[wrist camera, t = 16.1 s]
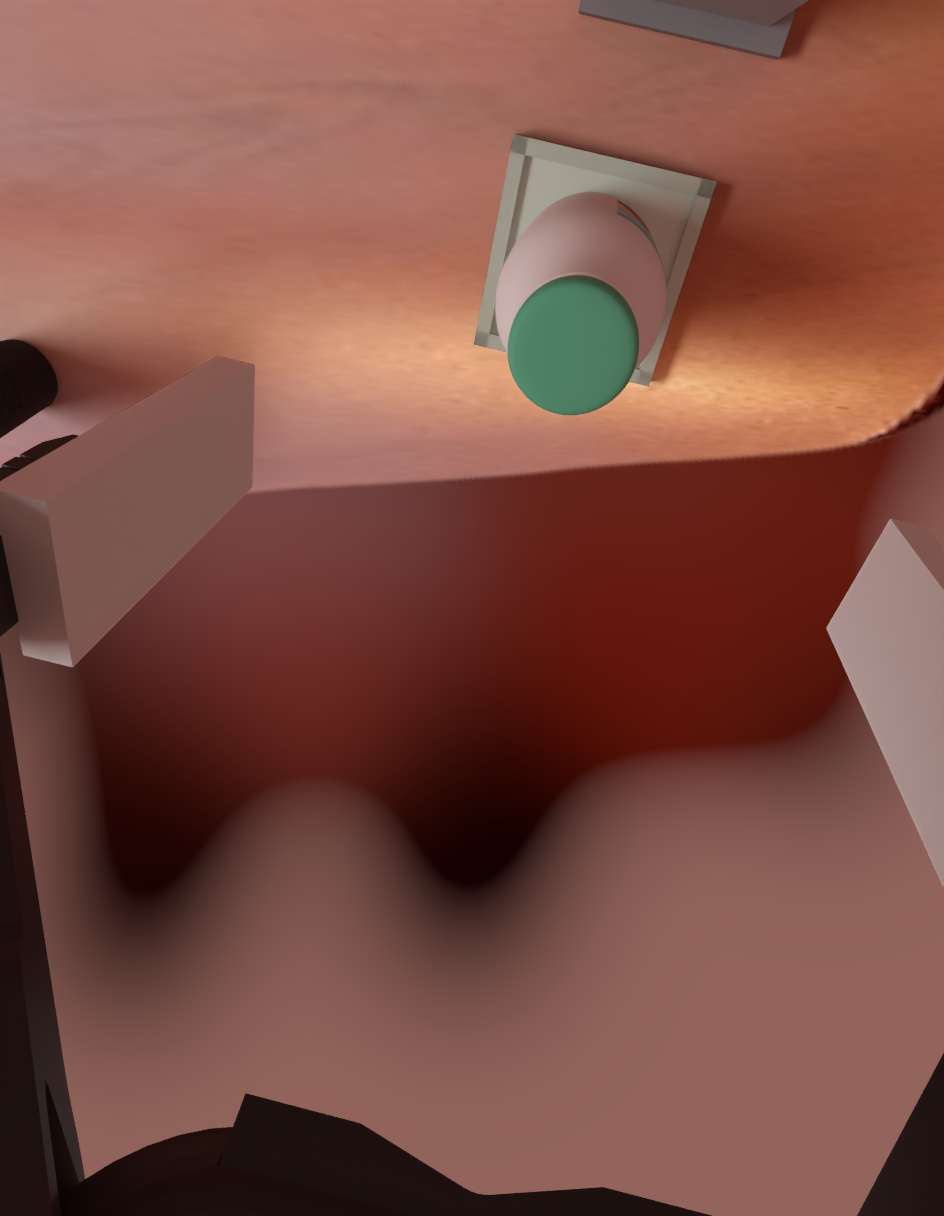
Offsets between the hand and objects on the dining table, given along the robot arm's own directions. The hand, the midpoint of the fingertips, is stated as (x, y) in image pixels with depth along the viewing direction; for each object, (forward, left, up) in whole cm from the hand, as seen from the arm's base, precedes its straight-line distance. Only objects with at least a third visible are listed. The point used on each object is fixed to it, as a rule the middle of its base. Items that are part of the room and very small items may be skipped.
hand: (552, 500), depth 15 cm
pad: (0, 0, -33) cm, 33 cm away
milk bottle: (0, 0, -32) cm, 32 cm away
